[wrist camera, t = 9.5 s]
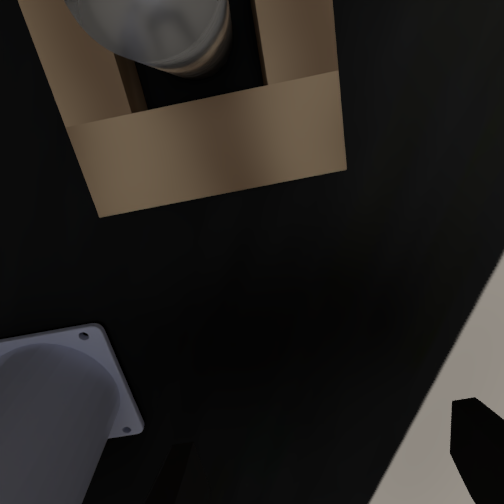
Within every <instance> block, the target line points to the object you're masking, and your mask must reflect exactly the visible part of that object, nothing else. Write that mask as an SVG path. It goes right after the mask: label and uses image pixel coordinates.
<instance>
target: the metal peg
mask: <svg viewBox="0 0 504 504" xmlns="http://www.w3.org/2000/svg"><path fill="white" fill-rule="evenodd" d="M64 1H65V3H66V5H67V7H68V9H69V10H70V12H71V14H72V15H73V17H74V18H75V19H76V21H77V22H78V23H79V25H80V26H81V27H82V28H83V29H84V30H85V32H86V33H87V34H88V35H89V36H90V37H92V38H93V39H94V40H95V41H96V42H97V43H99V44H100V45H102V46H103V47H104V48H106V49H107V50H109V51H111V52H113V53H115V54H117V55H120V56H123V57H125V58H128V59H131V60H134V61H136V62H139V63H142V64H145V65H148V66H150V67H153V68H156V69H159V70H162V71H165V72H167V73H170V74H173V75H176V76H179V77H181V78H184V79H188V80H202V79H206V78H209V77H211V76H213V75H214V74H216V73H217V72H218V71H219V70H220V69H221V68H222V67H223V66H224V65H225V63H226V62H227V60H228V58H229V55H230V53H231V49H232V44H233V29H232V22H231V15H230V9H229V2H228V0H64Z"/></svg>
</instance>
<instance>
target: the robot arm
mask: <svg viewBox="0 0 504 504" xmlns="http://www.w3.org/2000/svg"><path fill="white" fill-rule="evenodd" d="M82 332H85V333H87V334H88V335H89V336H86V335H84V334H83V333H82ZM451 418H452V419H451V441H450V454H451V456H452V458H453V460H454V462H455V465H456V467H457V469H458V471H459V473H460V475H461V477H462V479H463V481H464V483H465V485H466V487H467V489H468V491H469V493H470V495H471V497H472V499H473V500H474V502H475V503H476V504H504V420H503V419H502V418H501V417H500V416H498V415H497V414H496V413H495V412H493V411H492V410H491V409H490V408H488V407H487V406H486V405H484V404H483V403H482V402H481V401H479V400H478V399H476V398H475V397H474V398H468V399H462V400H455V401H452V416H451ZM128 427H129V428H128ZM143 428H144V421H143V419H142V416H141V414H140V412H139V409H138V407H137V405H136V402H135V400H134V398H133V395H132V393H131V391H130V388H129V386H128V384H127V381H126V379H125V377H124V374H123V372H122V370H121V367H120V365H119V362H118V360H117V358H116V355H115V353H114V351H113V348H112V346H111V344H110V341H109V339H108V337H107V334H106V332H105V330H104V328H103V327H102V326H101V325H100V324H97V323H90V324H84V325H79V326H73V327H67V328H62V329H56V330H51V331H45V332H39V333H34V334H28V335H23V336H17V337H11V338H6V339H0V504H82V502H83V499H84V497H85V494H86V492H87V489H88V487H89V484H90V482H91V479H92V477H93V474H94V472H95V469H96V467H97V464H98V462H99V459H100V457H101V454H102V452H103V449H104V447H105V444H106V442H107V439H109V438H115V437H121V436H127V435H134V434H138V433H141V432H142V431H143ZM143 504H210V486H209V484H208V481H207V478H206V475H205V472H204V470H203V467H202V464H201V461H200V459H199V456H198V453H197V450H196V448H195V445H194V442H190V443H183V444H177V445H172V447H171V448H170V449H169V451H168V454H167V456H166V458H165V460H164V462H163V464H162V466H161V469H160V471H159V473H158V475H157V477H156V479H155V481H154V483H153V485H152V487H151V489H150V491H149V493H148V495H147V497H146V499H145V501H144V503H143Z"/></svg>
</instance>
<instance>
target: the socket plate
mask: <svg viewBox="0 0 504 504" xmlns="http://www.w3.org/2000/svg"><path fill="white" fill-rule="evenodd" d="M18 2H19V5H20V7H21V10H22V13H23V15H24V18H25V21H26V23H27V26H28V29H29V31H30V34H31V37H32V39H33V42H34V45H35V47H36V50H37V53H38V55H39V58H40V61H41V63H42V66H43V69H44V71H45V74H46V76H47V79H48V82H49V84H50V87H51V90H52V92H53V95H54V98H55V100H56V103H57V106H58V108H59V111H60V114H61V116H62V119H63V122H64V124H65V127H66V130H67V132H68V135H69V138H70V140H71V143H72V146H73V148H74V151H75V154H76V156H77V159H78V162H79V164H80V167H81V169H82V172H83V175H84V177H85V180H86V183H87V185H88V188H89V191H90V193H91V196H92V199H93V201H94V204H95V207H96V209H97V212H98V215H99V217H105V216H110V215H116V214H121V213H126V212H131V211H136V210H141V209H146V208H152V207H157V206H162V205H167V204H172V203H177V202H182V201H188V200H193V199H198V198H203V197H208V196H213V195H218V194H224V193H229V192H234V191H239V190H244V189H249V188H254V187H260V186H265V185H270V184H275V183H280V182H285V181H290V180H296V179H301V178H306V177H311V176H316V175H321V174H326V173H332V172H337V171H342V170H347V167H346V155H345V143H344V132H343V120H342V108H341V96H340V84H339V73H338V61H337V49H336V37H335V25H334V13H333V2H332V0H250V3H251V9H252V15H253V21H254V28H255V34H256V40H257V46H258V52H259V59H260V65H261V71H262V77H263V83H264V86H261V87H257V88H252V89H247V90H242V91H237V92H233V93H228V94H223V95H218V96H214V97H209V98H204V99H199V100H194V101H190V102H185V103H180V104H175V105H170V106H166V107H161V108H156V109H151V110H148V108H147V104H146V101H145V97H144V94H143V90H142V87H141V83H140V80H139V76H138V73H137V69H136V65H135V62H134V60H131V59H128V58H125V57H123V56H120V55H117V54H115V53H113V52H111V51H109V50H107V49H106V48H104V47H103V46H102V45H100V44H99V43H97V42H96V41H95V40H94V39H93V38H92V37H90V36H89V35H88V34H87V33H86V32H85V30H84V29H83V28H82V27H81V26H80V25H79V23H78V22H77V21H76V19H75V18H74V17H73V15H72V14H71V12H70V10H69V9H68V7H67V5H66V3H65V1H64V0H18Z"/></svg>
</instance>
